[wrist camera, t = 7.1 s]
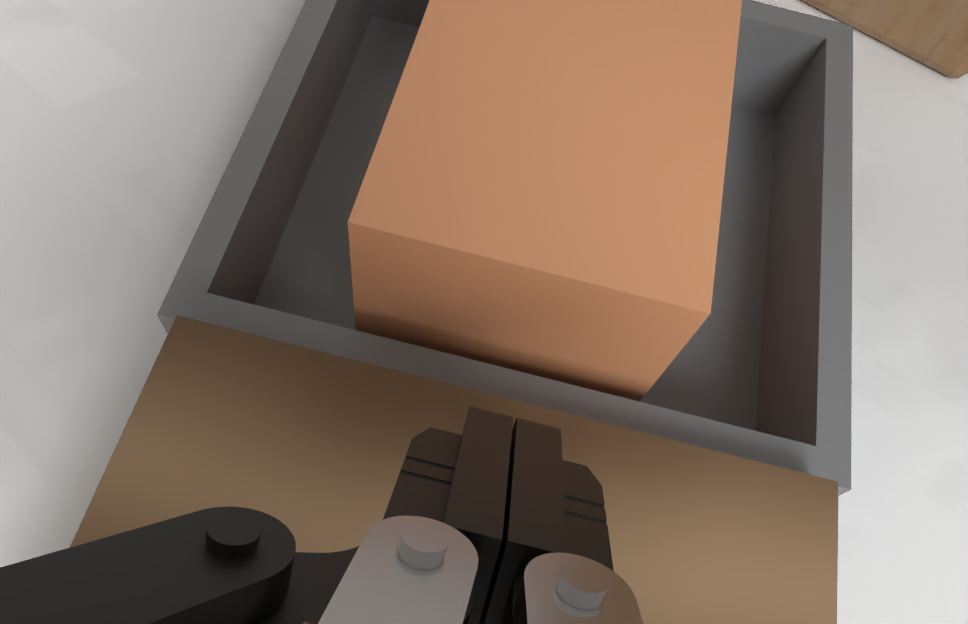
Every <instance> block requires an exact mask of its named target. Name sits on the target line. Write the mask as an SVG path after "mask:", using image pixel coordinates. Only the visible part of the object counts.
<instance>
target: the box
mask: <svg viewBox="0 0 968 624" xmlns="http://www.w3.org/2000/svg"><path fill="white" fill-rule="evenodd" d="M429 1H430V0H306V2H305V4H304V6H303V8H302V10H301V12H300V14H299V17H298V19H297V21H296V23H295V25H294V27H293V29H292V31H291V33H290V36H289V38H288V40H287V42H286V44H285V46H284V48H283V50H282V52H281V55H280V57H279V59H278V61H277V63H276V65H275V67H274V69H273V71H272V74H271V76H270V78H269V80H268V82H267V84H266V86H265V88H264V90H263V93H262V95H261V97H260V99H259V101H258V103H257V105H256V107H255V109H254V112H253V114H252V116H251V118H250V120H249V122H248V124H247V126H246V128H245V131H244V133H243V135H242V137H241V139H240V141H239V143H238V145H237V147H236V150H235V152H234V154H233V156H232V158H231V160H230V162H229V164H228V166H227V169H226V171H225V173H224V175H223V177H222V179H221V181H220V183H219V185H218V188H217V190H216V192H215V194H214V196H213V198H212V200H211V202H210V204H209V207H208V209H207V211H206V213H205V215H204V217H203V219H202V221H201V223H200V226H199V228H198V230H197V232H196V234H195V236H194V238H193V240H192V242H191V245H190V247H189V249H188V251H187V253H186V255H185V257H184V259H183V261H182V264H181V266H180V268H179V270H178V272H177V274H176V276H175V278H174V280H173V283H172V285H171V287H170V289H169V291H168V293H167V295H166V297H165V299H164V302H163V304H162V306H161V308H160V310H159V312H158V314H157V315H158V317H159V319H160V321H161V322H162V324H163V326H164V328H165V329H166V331H167V333H169V331H170V329H171V327H172V325H173V322H174V320H175V318H176V316H177V315H179V316H183V317H187V318H191V319H195V320H199V321H203V322H207V323H211V324H215V325H219V326H223V327H227V328H231V329H235V330H238V331H242V332H246V333H250V334H254V335H258V336H262V337H266V338H270V339H274V340H278V341H282V342H286V343H290V344H294V345H298V346H302V347H306V348H310V349H314V350H318V351H322V352H326V353H330V354H334V355H338V356H342V357H346V358H350V359H354V360H358V361H361V362H365V363H369V364H373V365H377V366H381V367H385V368H389V369H393V370H397V371H401V372H405V373H409V374H413V375H417V376H421V377H425V378H429V379H433V380H437V381H441V382H445V383H449V384H453V385H457V386H461V387H465V388H469V389H473V390H477V391H481V392H485V393H488V394H492V395H496V396H500V397H504V398H508V399H512V400H516V401H520V402H524V403H528V404H532V405H536V406H540V407H544V408H548V409H552V410H556V411H560V412H564V413H568V414H572V415H576V416H580V417H584V418H588V419H592V420H596V421H600V422H604V423H608V424H611V425H615V426H619V427H623V428H627V429H631V430H635V431H639V432H643V433H647V434H651V435H655V436H659V437H663V438H667V439H671V440H675V441H679V442H683V443H687V444H691V445H695V446H699V447H703V448H707V449H711V450H715V451H719V452H723V453H727V454H731V455H735V456H738V457H742V458H746V459H750V460H754V461H758V462H762V463H766V464H770V465H774V466H778V467H782V468H786V469H790V470H794V471H798V472H802V473H806V474H810V475H814V476H818V477H822V478H826V479H830V480H834V481H838V496H839V495H841V494H843V493H845V492H847V491H849V490H851V332H852V76H853V26H851V25H847V24H843V23H839V22H835V21H831V20H827V19H823V18H819V17H815V16H811V15H807V14H803V13H799V12H795V11H791V10H787V9H783V8H779V7H775V6H771V5H767V4H763V3H759V2H755V1H751V0H742V6H741V16H740V26H739V36H738V46H737V56H736V66H735V76H734V86H733V96H732V106H731V116H730V126H729V136H728V146H727V156H726V165H725V175H724V185H723V195H722V205H721V215H720V225H719V235H718V245H717V255H716V265H715V275H714V285H713V295H712V305H711V314H710V315H709V316H708V317H707V319H706V320H705V321H704V322H703V324H702V325H701V326H700V327H699V329H698V330H697V331H696V332H695V334H694V335H693V336H692V337H691V339H690V340H689V341H688V342H687V343H686V345H685V346H684V347H683V348H682V350H681V351H680V352H679V353H678V355H677V356H676V357H675V358H674V360H673V361H672V362H671V363H670V365H669V366H668V367H667V368H666V369H665V371H664V372H663V373H662V374H661V376H660V377H659V378H658V379H657V381H656V382H655V383H654V384H653V386H652V387H651V388H650V389H649V391H648V392H647V393H646V394H645V396H644V397H643V398H642V399H641V400H640V402H639V401H635V400H631V399H627V398H623V397H619V396H615V395H611V394H607V393H603V392H599V391H595V390H591V389H587V388H583V387H579V386H575V385H571V384H567V383H563V382H559V381H555V380H551V379H547V378H544V377H540V376H536V375H532V374H528V373H524V372H520V371H516V370H512V369H508V368H504V367H500V366H496V365H492V364H488V363H484V362H480V361H476V360H472V359H468V358H464V357H460V356H456V355H452V354H448V353H444V352H440V351H436V350H432V349H428V348H424V347H420V346H416V345H413V344H409V343H405V342H401V341H397V340H393V339H389V338H385V337H381V336H377V335H373V334H369V333H365V332H361V331H357V330H356V329H355V315H354V301H353V288H352V274H351V260H350V246H349V232H348V220H349V217H350V215H351V212H352V209H353V206H354V204H355V201H356V198H357V196H358V193H359V190H360V188H361V185H362V182H363V179H364V177H365V174H366V171H367V169H368V166H369V163H370V160H371V158H372V155H373V152H374V150H375V147H376V144H377V141H378V139H379V136H380V133H381V131H382V128H383V125H384V123H385V120H386V117H387V114H388V112H389V109H390V106H391V104H392V101H393V98H394V95H395V93H396V90H397V87H398V85H399V82H400V79H401V76H402V74H403V71H404V68H405V66H406V63H407V60H408V58H409V55H410V52H411V49H412V47H413V44H414V41H415V39H416V36H417V33H418V30H419V28H420V25H421V22H422V20H423V17H424V14H425V11H426V9H427V6H428V3H429Z"/></svg>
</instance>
